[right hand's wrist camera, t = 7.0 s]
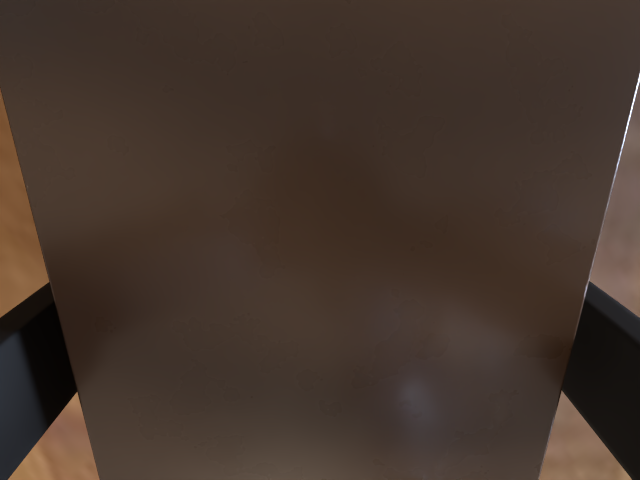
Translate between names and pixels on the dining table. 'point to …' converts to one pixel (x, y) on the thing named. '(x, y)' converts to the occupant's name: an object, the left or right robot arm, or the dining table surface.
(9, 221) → the dining table surface
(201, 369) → the cabinet
